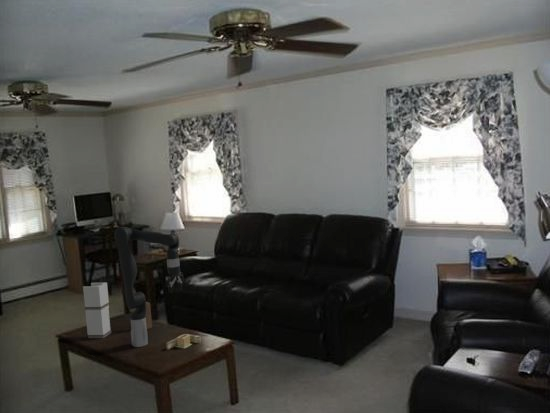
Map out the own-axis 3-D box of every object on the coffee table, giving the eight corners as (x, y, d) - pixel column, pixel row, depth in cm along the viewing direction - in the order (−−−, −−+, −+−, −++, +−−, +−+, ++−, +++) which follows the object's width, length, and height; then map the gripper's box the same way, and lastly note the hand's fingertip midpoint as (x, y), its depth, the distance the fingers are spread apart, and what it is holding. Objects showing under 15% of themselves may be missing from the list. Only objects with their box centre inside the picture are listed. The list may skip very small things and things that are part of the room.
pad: (175, 346, 302) (175, 346, 302) (183, 342, 308) (183, 342, 308) (184, 348, 298) (184, 348, 298) (192, 344, 305) (192, 343, 305)
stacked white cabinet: (111, 332, 337) (106, 282, 334) (103, 338, 327) (98, 286, 324) (96, 332, 339) (91, 282, 336) (87, 338, 329) (82, 286, 326)
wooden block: (140, 331, 336) (138, 305, 334) (137, 329, 339) (135, 304, 338) (152, 327, 342) (150, 302, 340) (149, 326, 345) (147, 301, 344)
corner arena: (166, 349, 299) (166, 343, 298) (185, 339, 313) (184, 333, 313) (183, 352, 292) (182, 345, 292) (201, 342, 307) (200, 336, 306)
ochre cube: (184, 347, 300) (183, 338, 299) (177, 346, 302) (176, 337, 302) (190, 344, 304) (189, 335, 304) (183, 343, 307) (182, 334, 307)
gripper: (170, 268, 297) (172, 294, 298) (185, 263, 309) (187, 288, 310) (161, 267, 301) (163, 293, 302) (176, 262, 313) (178, 287, 314)
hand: (175, 291), depth 306 cm, fingers open, 8 cm apart
